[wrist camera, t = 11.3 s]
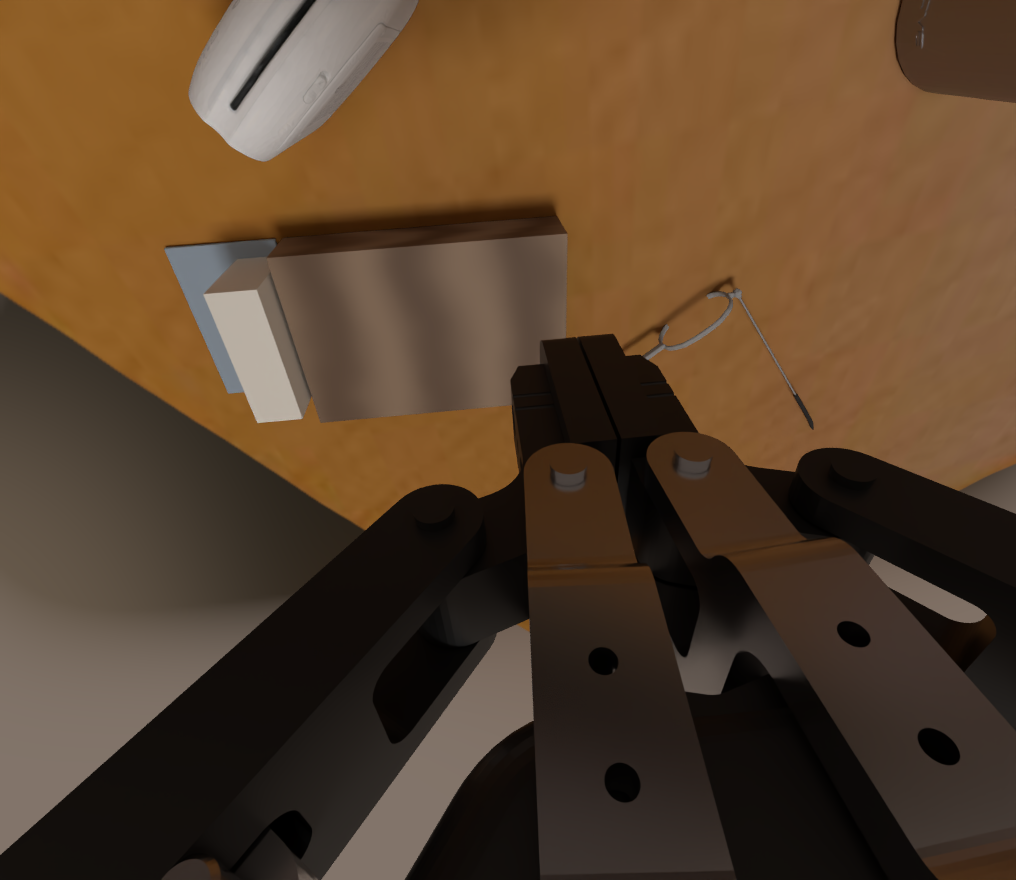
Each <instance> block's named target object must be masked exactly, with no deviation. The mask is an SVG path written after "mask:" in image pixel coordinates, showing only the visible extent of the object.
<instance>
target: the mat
mask: <svg viewBox="0 0 1016 880" xmlns="http://www.w3.org/2000/svg"><path fill="white" fill-rule="evenodd" d="M276 246H277V242H276V239H263V240H251V241H238V242H226V243H213V244H201V245H188V246H176V247H166V248H164V250H165V252H166V254H167V256H168V259H169V261H170V263H171V265H172V268H173V270H174V272H175V274H176V277H177V279H178V281H179V283H180V286H181V288H182V290H183V292H184V295H185V297H186V299H187V301H188V304H189V306H190V308H191V310H192V313H193V315H194V317H195V319H196V322H197V324H198V326H199V328H200V331H201V333H202V335H203V337H204V340H205V342H206V344H207V346H208V349H209V351H210V353H211V355H212V358H213V360H214V362H215V364H216V367H217V369H218V371H219V373H220V376H221V378H222V380H223V382H224V385H225V387H226V389H227V391H228V393H239V392H244V390H243V387H242V385H241V383H240V380H239V378H238V376H237V373H236V371H235V368H234V366H233V364H232V361H231V359H230V357H229V354H228V352H227V350H226V347H225V345H224V342H223V340H222V338H221V335H220V333H219V331H218V328H217V326H216V323H215V321H214V319H213V316H212V314H211V312H210V309H209V307H208V304H207V302H206V300H205V297H204V295H203V294H204V293H205V292H206V291H207V290H208V289H209V288H210V287H211V286H212V284H213V283H214V282H215V281H216V280H217V279H218V278H219V277H220V276H221V275H222V274H223V273H224V272H225V271H226V270H227V269H228V268H229V267H230V266H231V265H232V264H233V263H234V262H235V261H236V260H237V259H244V258H256V257H267V256H268V255H269V254H270V253H271V252H272V251H273V249H274V248H275V247H276Z"/></svg>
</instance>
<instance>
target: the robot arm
mask: <svg viewBox="0 0 1016 880" xmlns="http://www.w3.org/2000/svg"><path fill="white" fill-rule="evenodd" d="M896 46H897V53H898V60H899V63H900V65H901V67H902V70H903V72H904V74H905V76H906V77H907V78H908V79H909V80H910V81H911V83H912V84H913V85H915V86H917V87H918V88H920V89H922V90H924V91H927V92H932V93H937V94H945V95H954V96H963V97H971V98H979V99H986V100H994V101H1003V102H1012V103H1016V0H903V1H902V5H901V9H900V13H899V18H898V22H897V35H896ZM510 384H511V399H512V415H513V430H514V442H515V448H516V455H517V462H518V468H519V474H518V476H517V477H516V478H515V479H514V480H513V481H512V482H511V483H510V484H509V485H508V486H506V487H505V488H503V489H501V490H499V491H497V492H495V493H492V494H490V495H487V496H484V497H481V498H479V499H478V498H477V497H476V495H474V494H473V493H472V492H470V491H469V490H467V489H465V488H462V487H459V486H455V485H447V484H439V485H431V486H426V487H423V488H419V489H417V490H415V491H412V492H411V493H409V494H407V495H406V496H404V497H403V498H402V499H400V500H399V501H398V502H397V503H396V504H395V505H393V506H392V507H391V508H390V509H389V510H388V511H387V512H386V513H384V514H383V515H382V516H381V517H380V518H379V519H378V520H377V521H375V522H374V523H373V524H372V525H371V526H370V527H369V528H368V529H367V530H365V531H364V532H363V533H362V534H361V535H360V536H359V537H358V538H357V539H355V540H354V541H353V542H352V543H351V544H350V545H349V546H348V547H346V548H345V549H344V550H343V551H342V552H341V553H340V554H339V555H337V556H336V557H335V558H334V559H333V560H332V561H331V562H329V563H328V564H327V565H326V566H325V567H324V568H323V569H322V570H320V571H319V572H318V573H317V574H316V575H315V576H314V577H313V578H311V579H310V580H309V581H308V582H307V583H306V584H305V585H304V586H303V587H301V588H300V589H299V590H298V591H297V592H296V593H295V594H293V595H292V596H291V597H290V598H289V599H288V600H287V601H286V602H285V603H283V604H282V605H281V606H280V607H279V608H278V609H277V610H275V611H274V612H273V613H272V614H271V615H270V616H269V617H268V618H267V619H265V620H264V621H263V622H262V623H261V624H260V625H259V626H257V627H256V628H255V629H254V630H253V631H252V632H251V633H250V634H248V635H247V636H246V637H245V638H244V639H243V640H242V641H241V642H239V643H238V644H237V645H236V646H235V647H234V648H233V649H232V650H230V651H229V652H228V653H227V654H226V655H225V656H224V657H223V658H222V659H220V660H219V661H218V662H217V663H216V664H215V665H214V666H212V667H211V668H210V669H209V670H208V671H207V672H206V673H205V674H203V675H202V676H201V677H200V678H199V679H198V680H197V681H196V682H194V683H193V684H192V685H191V686H190V687H189V688H188V689H187V690H185V691H184V692H183V693H182V694H181V695H180V696H179V697H178V698H176V699H175V700H174V701H173V702H172V703H171V704H170V705H169V706H167V707H166V708H165V709H164V710H163V711H162V712H161V713H160V714H158V716H156V717H155V718H154V719H153V720H152V721H151V722H150V723H149V724H147V725H146V726H145V727H144V728H143V729H142V730H141V731H140V732H138V733H137V734H136V735H135V736H134V737H133V738H132V739H130V740H129V741H128V742H127V743H126V744H125V745H124V746H122V747H121V748H120V749H119V750H118V751H117V752H116V753H115V754H113V755H112V756H111V757H110V758H109V759H108V760H107V761H106V762H104V764H102V765H101V766H100V767H99V768H98V769H97V770H95V771H94V772H93V773H92V774H91V775H90V776H89V777H88V778H86V779H85V780H84V781H83V782H82V783H81V784H80V785H79V786H78V787H76V788H75V789H74V790H73V791H72V792H71V793H70V794H69V795H67V796H66V797H65V798H64V799H63V800H62V801H61V802H59V803H58V805H56V806H55V807H54V808H53V809H52V810H50V812H48V813H47V814H46V815H45V816H44V817H43V818H42V819H41V820H39V821H38V822H37V823H36V824H35V825H34V826H33V827H31V828H30V829H29V830H28V831H27V832H26V833H25V834H24V835H22V836H21V837H20V838H19V839H18V840H17V841H16V842H15V843H13V844H12V845H11V846H10V847H9V848H8V849H7V850H6V851H4V852H3V853H2V854H1V855H0V880H321V879H322V877H323V876H324V875H325V874H326V872H327V871H328V870H329V868H330V867H331V865H332V864H333V863H334V861H335V860H336V859H337V857H338V856H339V854H340V853H341V852H342V850H343V849H344V848H345V846H346V845H347V843H348V842H349V840H350V839H351V838H352V837H353V835H354V834H355V833H356V831H357V830H358V828H359V827H360V826H361V824H362V823H363V821H364V820H365V819H366V817H367V816H368V815H369V813H370V812H371V810H372V809H373V808H374V806H375V805H376V804H377V802H378V801H379V800H380V798H381V797H382V795H383V794H384V793H385V791H386V790H387V789H388V787H389V786H390V784H391V783H392V782H393V780H394V779H395V778H396V776H397V775H398V773H399V772H400V771H401V769H402V768H403V767H404V765H405V764H406V762H407V761H408V760H409V758H410V757H411V755H412V754H413V753H414V752H415V750H416V749H417V747H418V746H419V745H420V743H421V742H422V740H423V739H424V738H425V736H426V735H427V733H428V732H429V731H430V730H431V728H432V727H433V725H434V724H435V723H436V721H437V720H438V719H439V717H440V716H441V714H442V713H443V711H444V710H445V709H446V708H447V706H448V705H449V703H450V702H451V701H452V699H453V698H454V697H455V695H456V694H457V692H458V691H459V689H460V688H461V687H462V686H463V684H464V683H465V682H466V680H467V679H468V677H469V676H470V675H471V673H472V672H473V671H474V669H475V668H476V666H477V665H478V664H479V662H480V661H481V659H482V658H483V657H484V655H485V654H486V653H487V651H488V650H489V649H490V647H491V645H492V644H493V642H494V640H495V637H496V634H497V632H500V631H502V630H505V629H507V628H509V627H511V626H513V625H516V624H518V623H521V622H523V621H525V620H527V619H529V620H530V644H531V668H532V692H533V716H534V721H532V722H530V723H528V724H526V725H525V726H523V727H521V728H520V729H518V730H516V731H514V732H513V733H511V734H510V735H509V736H507V737H506V738H505V739H503V740H502V741H501V742H500V743H498V744H497V745H496V746H495V747H493V749H491V750H490V751H489V753H487V754H486V755H485V756H484V757H483V759H482V760H481V761H480V762H478V764H477V765H476V766H475V767H474V769H473V770H472V771H471V773H470V774H469V775H468V776H467V778H466V779H465V780H464V782H463V783H462V785H461V786H460V788H459V789H458V791H457V793H456V794H455V796H454V797H453V799H452V801H451V802H450V804H449V806H448V807H447V809H446V811H445V813H444V814H443V816H442V818H441V819H440V821H439V823H438V824H437V826H436V828H435V829H434V831H433V833H432V834H431V836H430V838H429V840H428V841H427V843H426V845H425V846H424V848H423V850H422V852H421V853H420V855H419V856H418V858H417V860H416V862H415V863H414V865H413V867H412V868H411V870H410V872H409V873H408V875H407V877H406V878H405V880H1016V514H1015V513H1012V512H1009V511H1007V510H1005V509H1002V508H999V507H997V506H995V505H992V504H990V503H987V502H985V501H982V500H980V499H977V498H974V497H972V496H969V495H967V494H965V493H962V492H960V491H957V490H955V489H952V488H950V487H947V486H944V485H942V484H939V483H937V482H934V481H932V480H929V479H927V478H924V477H922V476H919V475H917V474H914V473H912V472H909V471H907V470H904V469H902V468H899V467H897V466H894V465H892V464H889V463H887V462H884V461H882V460H879V459H877V458H874V457H872V456H869V455H866V454H863V453H861V452H857V451H853V450H848V449H842V448H821V449H816V450H813V451H810V452H808V453H806V454H805V455H804V456H802V458H801V459H800V460H799V463H798V466H797V469H796V471H795V472H791V471H782V470H774V469H766V468H758V467H752V466H747V465H744V463H743V462H742V461H741V460H740V458H739V457H738V456H737V455H736V453H735V452H734V451H733V450H732V449H731V448H730V447H729V446H727V445H726V444H725V443H723V442H721V441H720V440H718V439H715V438H713V437H711V436H708V435H704V434H700V433H698V431H697V429H696V428H695V426H694V425H693V423H692V421H691V420H690V418H689V416H688V415H687V413H686V412H685V410H684V408H683V407H682V405H681V403H680V402H679V400H678V399H677V397H676V396H674V392H673V390H672V389H671V387H670V386H669V384H667V383H666V379H665V377H664V376H663V374H662V373H661V371H660V369H659V368H658V366H656V365H655V364H653V363H652V362H650V361H649V360H647V359H646V358H644V357H643V356H641V355H632V356H625V354H624V352H623V350H622V348H621V347H620V345H619V343H618V341H617V339H616V337H615V336H614V334H604V335H593V336H582V337H577V338H576V337H572V338H561V339H550V340H541V341H540V364H535V365H524V366H518V367H517V369H516V371H515V373H514V374H513V376H512V378H511V380H510ZM874 555H875V556H878V557H880V558H881V559H884V560H886V561H887V562H889V563H892V564H893V565H895V566H898V567H900V568H901V569H904V570H905V571H907V572H910V573H912V574H913V575H915V576H917V577H920V578H922V579H923V580H926V581H927V582H929V583H932V584H933V585H936V586H937V587H939V588H941V589H943V590H946V591H948V592H950V593H951V594H953V595H955V596H957V597H959V598H961V599H963V600H966V601H967V602H969V603H971V604H973V605H975V606H977V607H978V608H980V609H981V610H983V611H984V612H985V613H986V614H987V615H986V617H985V618H984V619H982V620H981V621H979V622H976V623H962V622H957V621H953V620H951V619H948V618H946V617H944V616H942V615H940V614H938V613H937V612H935V611H933V610H931V609H929V608H927V607H925V606H923V605H921V604H919V603H917V602H916V601H914V600H912V599H910V598H908V597H906V596H904V595H902V594H900V593H899V592H897V591H895V590H893V589H891V588H889V587H888V586H887V585H886V584H885V583H884V582H883V581H882V580H881V579H880V577H879V576H878V575H877V574H876V573H875V572H874V571H873V569H872V568H871V567H870V566H869V564H870V562H871V560H872V559H873V557H874Z"/></svg>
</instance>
